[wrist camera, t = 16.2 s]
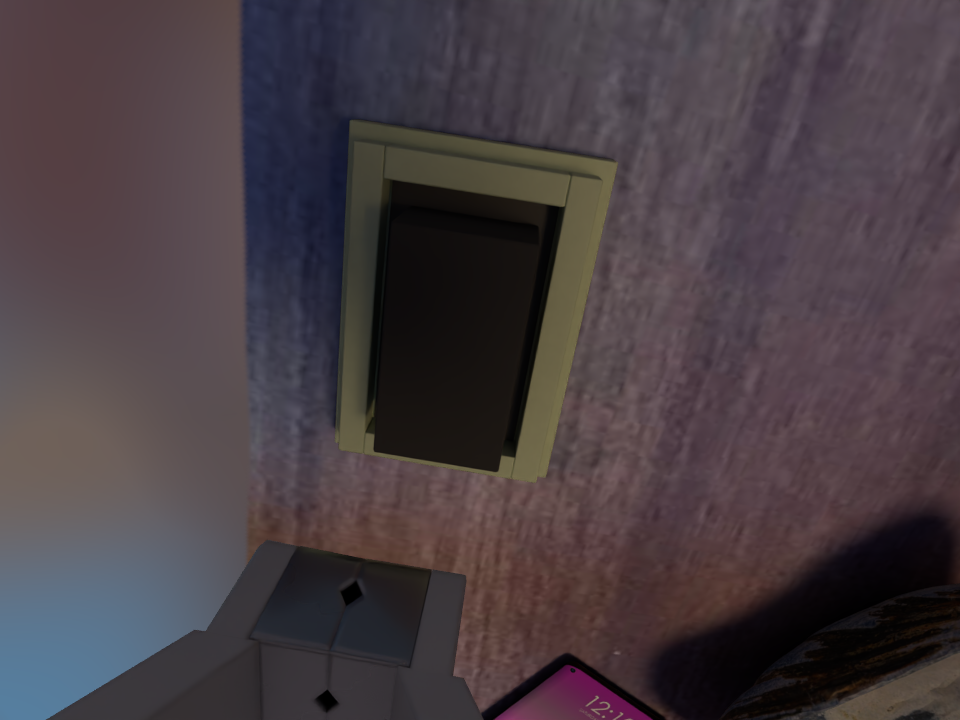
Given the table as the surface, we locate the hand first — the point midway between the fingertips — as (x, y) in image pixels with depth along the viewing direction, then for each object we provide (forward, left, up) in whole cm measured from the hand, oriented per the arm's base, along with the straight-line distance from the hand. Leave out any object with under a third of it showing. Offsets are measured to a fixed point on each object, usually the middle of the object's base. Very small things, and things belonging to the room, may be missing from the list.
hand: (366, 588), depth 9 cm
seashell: (-2, +23, -15) cm, 28 cm away
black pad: (+1, +1, -13) cm, 13 cm away
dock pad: (+1, 0, -14) cm, 14 cm away
